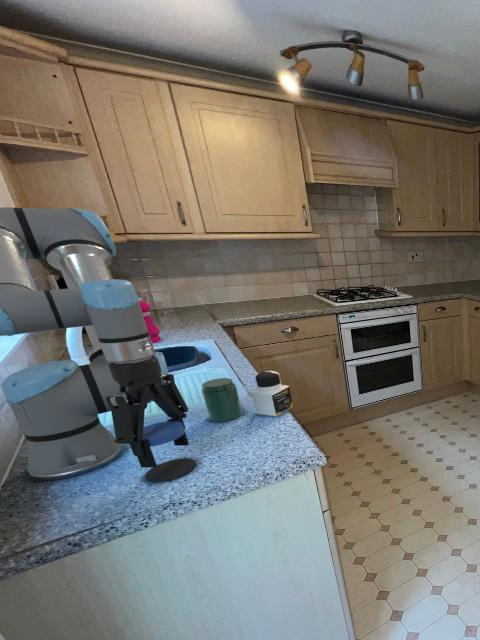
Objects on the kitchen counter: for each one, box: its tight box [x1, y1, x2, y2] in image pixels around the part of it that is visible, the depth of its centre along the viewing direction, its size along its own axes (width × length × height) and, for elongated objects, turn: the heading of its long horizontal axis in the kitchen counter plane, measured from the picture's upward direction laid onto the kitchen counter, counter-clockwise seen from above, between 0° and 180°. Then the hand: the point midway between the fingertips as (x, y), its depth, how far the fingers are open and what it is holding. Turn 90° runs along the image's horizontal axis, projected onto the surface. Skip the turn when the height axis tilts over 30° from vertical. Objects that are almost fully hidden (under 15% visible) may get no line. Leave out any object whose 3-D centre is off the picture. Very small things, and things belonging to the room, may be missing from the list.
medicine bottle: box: [250, 370, 294, 417], centre depth 119 cm, size 7×7×12 cm
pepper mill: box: [139, 297, 162, 344], centre depth 182 cm, size 7×7×20 cm
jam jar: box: [201, 377, 244, 423], centre depth 116 cm, size 8×8×10 cm
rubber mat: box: [144, 457, 197, 484], centre depth 92 cm, size 9×9×1 cm
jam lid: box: [133, 420, 186, 447], centre depth 88 cm, size 9×8×2 cm
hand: (166, 455), depth 90 cm, fingers closed on jam lid, 8 cm apart
